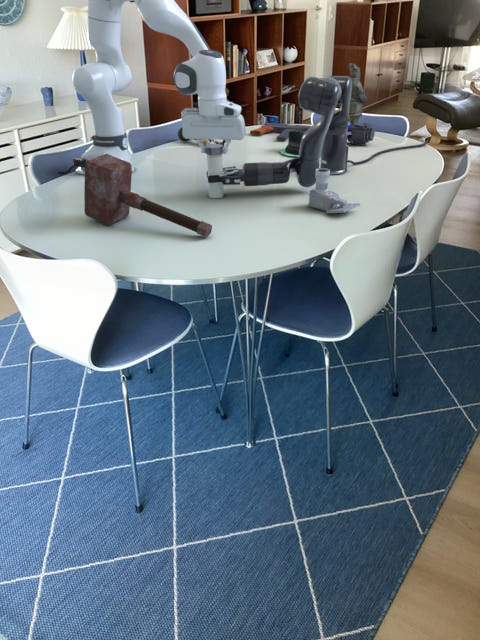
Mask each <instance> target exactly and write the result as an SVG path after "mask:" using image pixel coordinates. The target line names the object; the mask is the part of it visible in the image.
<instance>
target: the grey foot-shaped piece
mask: <svg viewBox="0 0 480 640" xmlns="http://www.w3.org/2000/svg"><path fill="white" fill-rule="evenodd" d="M330 175H331V174H330V170H329V169H327V168H320V167H319V168H318V169H316V173H315V178H316V183H315V188H313V189H311V190H309V192H308V193H309V194H308V195H309V196H308V207H310V208H313V209H317V210H319V211H320V210H321V211H324V212H325V214H344V213H345V214H346V213H347V212H349V211H351V210H353V209H355V208H357V207H360V206H361V203H359V202H357V203H348V200H347V199H344V198H341V197H339V194H338V193H337V192H334V191H330V190H328V187H329V180H330Z"/></svg>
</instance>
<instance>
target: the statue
mask: <svg viewBox="0 0 480 640" xmlns="http://www.w3.org/2000/svg"><path fill="white" fill-rule="evenodd" d="M348 70H349V73H350V75H349V77H350V78H351V81H352V90H351V98H350V106H349V119H348V122H350V124H352V127H354V125H355V124H357V125H359V124H358V123H359V121H360V118H361V117H362V116H363V108H364V104H365V103H367V102H368V96H367V95H366V94H365V91H364V86H363V84H362V82H361V68H360V67H359V66H358V65H357V64H356V63H351V62H350V63H348Z"/></svg>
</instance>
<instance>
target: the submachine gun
mask: <svg viewBox="0 0 480 640" xmlns="http://www.w3.org/2000/svg"><path fill="white" fill-rule="evenodd" d="M312 126H313V125H304V124H303V125H302V124H291V123H278V122H264V124H262V125H261V126H260V127H259V128H256V129H252V130H250V131H249V134H250V135H251V136H257V137H258V136H261V135H265V134H268V133H278V135H277V136H276V141H287V140H288V139H289V131H291V130H294V129H298V128H311V127H312Z"/></svg>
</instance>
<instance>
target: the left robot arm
mask: <svg viewBox="0 0 480 640" xmlns="http://www.w3.org/2000/svg"><path fill="white" fill-rule="evenodd" d="M125 2H130V3H131V4H132V3H135V5H136V7H137V11H138V12H139V14H140V16H141V18H142V20H143V22H144V23H145V24H146V25H147V26H148V27H149V28H150V29H151V30H153V31H155V32H157V33H161V34H165V35H168V36H170V37H174V38H176V39H178V40H179V41H181V42H182V43H183V44H184V45H185V46H186V48H187V50H188V51H189V52H190V55H191V56H192V58H190V59H187V60H186V61H183V62H181V63H178V64H177V65H176V67H175V68H174V72H173V83H174V86H175V88H176V90H177V91H178V92H179V93H180V94H182V95H185V96H191V95H192V96H193V95H197V103H198V104H197V105H198V107H185V108H184V109H183V110H181V113H180V116H181V121H182V127H181V128H182V135H183V137H184V138H185V139H192V140H193V139H197V140H196V142H197V143H196V144H198V146H199V147H200V152H201V154H206V153H205V145H204V144H203V143H202V141H203V139H215V140H222V141H223V140H225V145H224V146H223V148H222V155H227V154H228V152H229V146H230V144H231V143H232V141H242V140H244V139H245V137H246V135H247V134H246V132H247V131H246V123H245V122H246V121H245V117H244V116H243V115H242V114H241V113H242V106H241V105H239V104H237V103H234V102H231V101H228V99H227V97H228V96H227V93H226V85H227V70H226V64H225V63H226V62H225V59H224V56H223V54H222V53H221V52H219V51H217V50H214V49H211V47H210V46H209V44H208V43H207V41H206V39H205V38H204V36H203V35H202V33H201V31H200V30H199V29H198V27H197V25H196V23H195V22H194V21H193V19H192V18H191V17H190V16H189V15H188V14H187V13H186V12H184V10H183V9H182V8H181V7H180V6H179V4H177V2H176V1H175V0H88V2H87V3H88V4H87V43H88V44H89V46H91V47H92V48H93V49H94V52H95V57H96V61H95V62H88V63H85V64H83V65H80V66H79V67H77V68H76V69H75V70H74V71H73V74H72V84H73V87H74V90H75V91H76V92H77V93H78V94H79V95H80V96H81V97H83V99H84V100H85V101H86V104H87V105H88V107H89V110H90V112H91V115H92V121H93V126H94V133H95V134H93V135H92V136H90V137H89V141H92V145H91V146H90V147H88V148H87V149H86V150H85V151H84V152H83V153H82V154H81V157H76V158H73V159H72V161H73V165H71V166H70V167H69V168H68V169H67V170H65V171H60V170H58V171H57V174H62V175H63V174H68V173H70V172H71V171H72V169H74V168H75V167H77V168H76V169H75V174H79V175H84V176H85V163H86V161H87V160H90V159H93V158H96V157H99V156H101V155H104V154H109V155H111V156H114V157H116V158H119V159H122V160H124V161H127V162H129V163H130V164H131V165H132V172H134V171H135V168H134V165H133V164H132V160H131V156H130V152H129V142H128V135H127V132H126V126H125V119H124V118H125V117H124V112H123V110H122V109H121V107H118V106H117V105H116V102H115V101H114V98H113V95H112V94H115V93H119V92H122V91H123V90H125V89H126V88H128V87H130V85H131V83H132V79H133V77H132V76H133V75H132V71H131V68H130V66H129V65H128V64H127V63H126V61H125V59H124V56H123V52H122V43H121V39H122V38H121V37H122V7H123V5H124V3H125Z"/></svg>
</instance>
